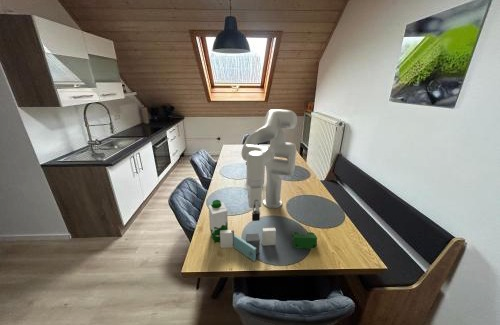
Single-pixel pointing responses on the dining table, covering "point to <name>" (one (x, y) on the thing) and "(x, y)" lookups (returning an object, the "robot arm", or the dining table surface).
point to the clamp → (304, 240)
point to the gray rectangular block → (253, 240)
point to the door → (245, 248)
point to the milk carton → (217, 219)
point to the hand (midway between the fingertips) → (254, 213)
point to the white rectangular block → (228, 237)
